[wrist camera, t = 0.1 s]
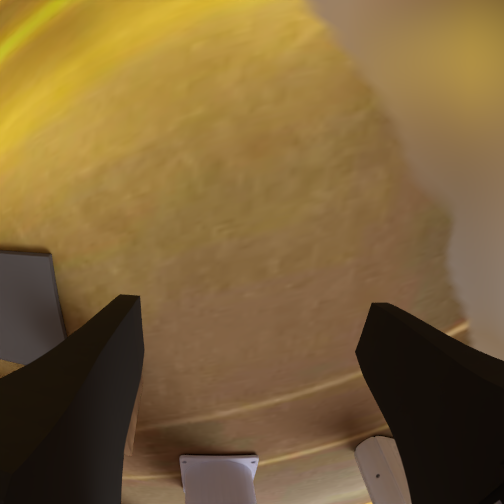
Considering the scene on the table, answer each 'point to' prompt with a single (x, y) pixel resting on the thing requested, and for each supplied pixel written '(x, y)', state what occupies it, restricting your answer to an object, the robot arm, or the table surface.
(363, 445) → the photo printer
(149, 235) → the table surface
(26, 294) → the mat
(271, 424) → the table surface
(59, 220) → the table surface
